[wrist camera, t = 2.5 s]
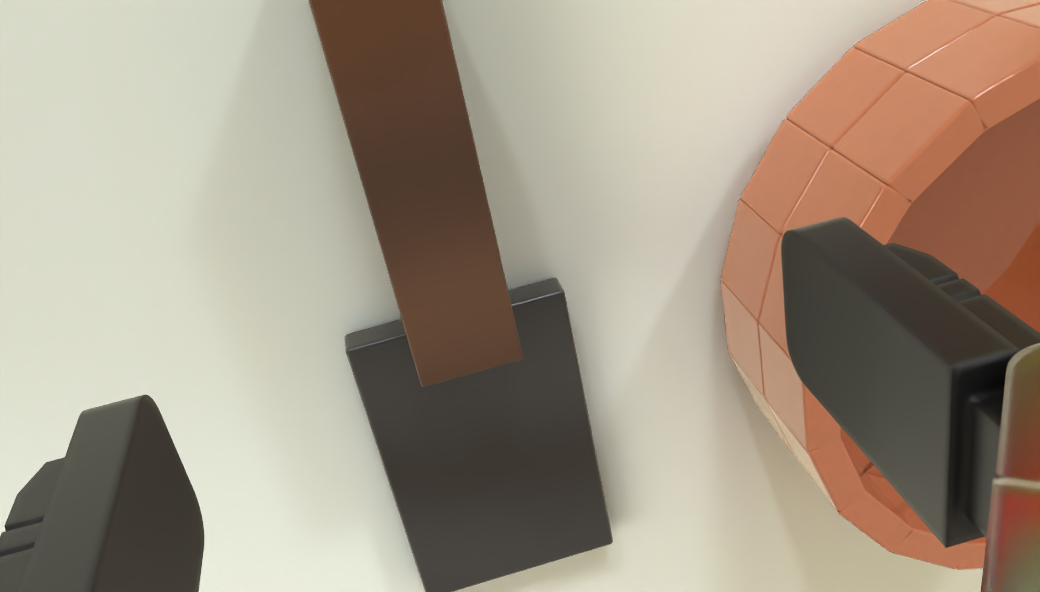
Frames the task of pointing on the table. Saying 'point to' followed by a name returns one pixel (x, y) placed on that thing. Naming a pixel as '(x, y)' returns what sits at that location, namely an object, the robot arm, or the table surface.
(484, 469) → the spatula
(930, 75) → the bowl
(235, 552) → the table surface
